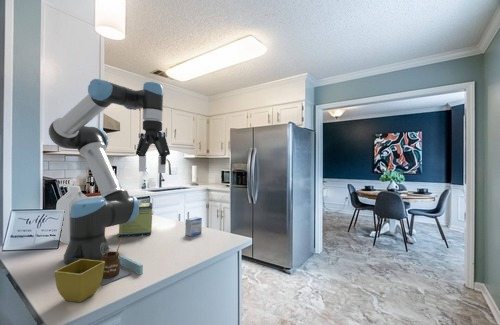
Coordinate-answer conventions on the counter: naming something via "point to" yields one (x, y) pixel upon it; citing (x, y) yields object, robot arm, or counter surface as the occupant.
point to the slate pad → (119, 276)
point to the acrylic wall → (131, 264)
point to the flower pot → (79, 279)
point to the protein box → (138, 223)
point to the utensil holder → (111, 263)
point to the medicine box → (193, 226)
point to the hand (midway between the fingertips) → (151, 172)
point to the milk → (68, 209)
